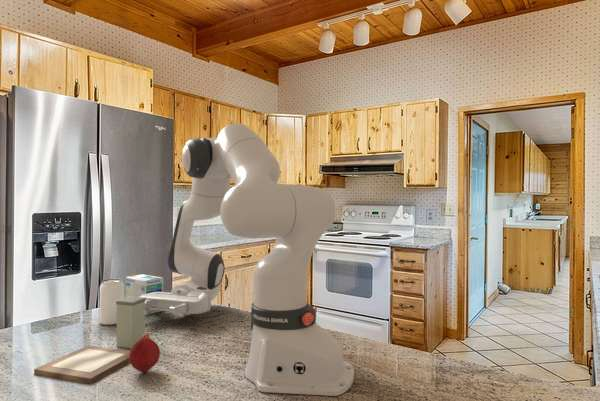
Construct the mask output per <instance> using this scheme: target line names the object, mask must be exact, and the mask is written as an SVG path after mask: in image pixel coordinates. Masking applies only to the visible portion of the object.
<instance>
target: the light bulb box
mask: <svg viewBox="0 0 600 401" xmlns="http://www.w3.org/2000/svg"><path fill="white" fill-rule="evenodd" d="M152 292H164V277H161V276H154V275H149V274H144V273H142V274H136V275H130V276H126V277H125V298H127V297H139V296H141V295H144V294H148V293H152ZM160 312H161V311H160V310H150V309H148V310H147V311H145V316H149V315H152V314H156V313H160Z"/></svg>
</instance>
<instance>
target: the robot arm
mask: <svg viewBox="0 0 600 401" xmlns="http://www.w3.org/2000/svg"><path fill="white" fill-rule="evenodd" d="M181 164H182V167H183V170H184V172H185V173H186V175H188V176H189V177H190V178H192V180H191V192H190V196H189V198H188V199H186V200H184V201H183V202H182V203H181V205H180V207H179V211H178V214H177V218H176V222H175V228H174V233H173V236H172V241H171V244H170V248H169V250H168V252H167V256H166V264H167V266H168V268H169V270H170V271H171V272H172V273H175V274H179V275H184V276H186V277H188V278H190V280H188V281H185V282H183V283H179V284H177V285H175V286H174V287H173V288H172V289H171V291H170V292H169V291H168V292H166V291H163V292H152V293H148V294H144V295H141V296H139V297H141V298H145V311H147V310H148V309H150V310H160V312H169V314H170V315H177V314H182V315H183V314H184V315H186V314H191V315H202V314H203V313H208V312H209V311H211V308H212V305H211V304H212V301H213V300H215V298H216V297H217V296H218V295H219V293H220V291H221V282H222V280H223V277H224V274H225V262H224V259H223V257H222V256H221V254H219V253H216V252H214V251H210V250H208V249H204V248H201V247H199V246H195V245H194V244H192V242H191V236H192V231H193V226H194V224H195V221H196V222H197V221H206V220H211V219H214V218H216V217H218V216H220V220H221V223H222V225H223V226H224V229H226V231H227V232H228V233H229V234H230V235H233V236H235V237H240V238H246V239H247V238H248V239H255V240H257V239H270V238H272V239H274V238H275V241H274V242H275V243H274V245H273V247H272V249H271V250H270V252H269V253H268V254H266V255H265V256H263V257H262V258H261V259H260V260H258V261H257V263H256V265H255V267H254V270H253V302H252V303H251V307H250V309H251V311H250V329H251V340H250V341H251V342H250V348H249V355H248V359H247V362H246V366H245V369H244V375H245V377H246V378H247V379H248V380H249V381H250V382H252V383H253V384H254V385H255V386H256V388H257V390H258V391H259V392H262V393H273V394H294V395H295V394H297V395H309V396H310V395H311V396H330V397H331V396H332V397H334V396H335V397H337V396H340V395H342V394H344V393H346V392H347V391H349V389H350V388H351V387H352V385H353V383H354V380H355V369H354V367H353V365H352V364H351V363H350V362H347V361H345V360H344V356H343V355H344V354H343V350H342V346H341V344H340V342H339V340H337V338H335V337H334V336H332V335H331V334H330V333H329V332H327V331H326V330H325V329H324V328H323V327H322V326H321V325H320V324H318V323H317V313H318V312H317V310H318V307H317V306H315V307H313V306H312V305H310V304H309V303H308V300H307V298H308V296H307V295H308V277H309V266H310V262H311V258H312V256H313V253H314V250H315V248H316V246H317V244H318V242H319V241H320V239H321V237H322V236H323V235H324V234H325V233H326V232H327V231H328V230H329V229H330V228H331V227H332V226H333V224H334V221H335V218H336V213H337V212H336V204H335V201H334V198H333V196H332V194H331V193H330V192H329V191H327V190H325V189H323V188H319V187H316V186H313V185H307V184H306V185H305V184H283V183H278V182H279V180H280V176H281V166H280V163H279V160H278V159H277V158H276V156H275V155H274V154H273V152H272V151H271V150H270V149H269V147H268V146H267V145H266V143H265V142H264V140H263V139H262V138H261V137H260V136H259V135H258V134H257V133H256V132H255V131H254V130H253V129H251V128H250V127H249V126H248V125H245V124H243V123H241V122H239V123H238V122H233V123H229V124H228V125H226V126H224V127H223V128H222V129H221V130H220V132H219V134H218V135H217V137H216V136H215V137H197V138H191V139H189V140H187V142H185V143H184V145H183V146H182V152H181ZM231 181H232V182H233V185H234V186H232V187H231Z"/></svg>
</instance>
